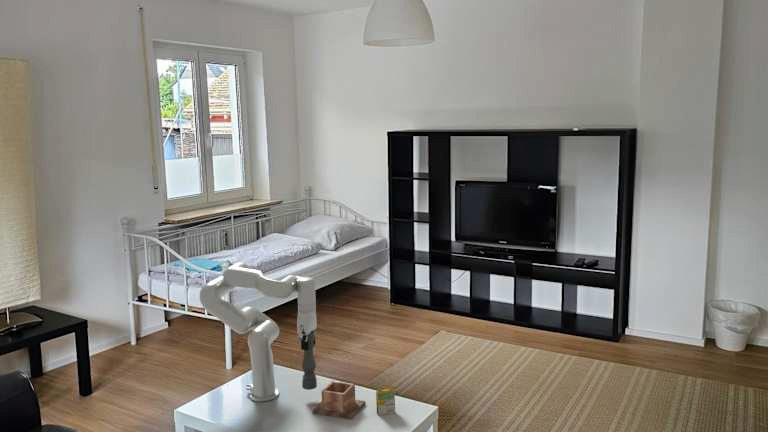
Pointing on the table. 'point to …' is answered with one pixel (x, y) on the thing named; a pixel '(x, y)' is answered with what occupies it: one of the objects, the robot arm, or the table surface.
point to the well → (339, 401)
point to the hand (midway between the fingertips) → (308, 346)
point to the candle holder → (309, 364)
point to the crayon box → (385, 401)
